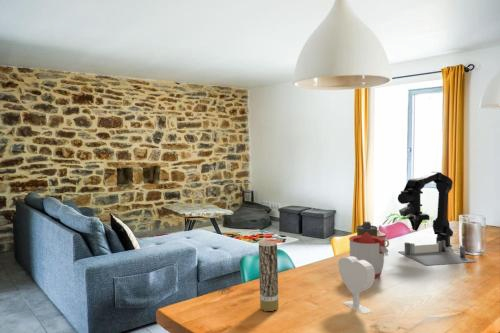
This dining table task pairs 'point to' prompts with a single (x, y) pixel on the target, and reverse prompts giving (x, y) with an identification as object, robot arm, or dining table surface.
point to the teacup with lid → (382, 235)
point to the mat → (437, 258)
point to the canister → (367, 229)
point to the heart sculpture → (356, 279)
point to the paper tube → (268, 275)
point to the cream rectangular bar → (426, 248)
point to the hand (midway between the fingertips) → (414, 230)
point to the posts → (462, 251)
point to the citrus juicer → (369, 250)
